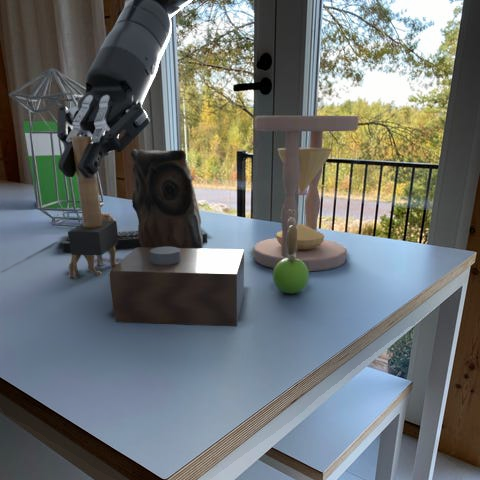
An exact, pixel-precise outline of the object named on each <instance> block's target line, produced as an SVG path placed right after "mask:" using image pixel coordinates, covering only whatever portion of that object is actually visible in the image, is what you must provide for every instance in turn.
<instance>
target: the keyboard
mask: <svg viewBox="0 0 480 480" xmlns="http://www.w3.org/2000/svg"><path fill="white" fill-rule="evenodd" d="M201 231H202V236H203V238H202V240H203V244H204V243H208V233H206V232H205V231H204V230H202V229H201ZM136 247H142V246H141V245H140V240H139V235H138V230H136V231H134V230H133V231H132V230H131V231H121V232H119V231H118V243H117V244H116V246H115V250H120V249H135V248H136ZM61 248H62V253H71V251H70V244H69V237H68V236H65V237H63V238H62V241H61Z"/></svg>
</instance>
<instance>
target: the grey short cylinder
mask: <svg viewBox="0 0 480 480" xmlns="http://www.w3.org/2000/svg"><path fill="white" fill-rule="evenodd" d="M150 261H151V263H153V264H157V265H171V264H176V263H178V262H180V261H181V256H180V249H179V248H176V247H157V248H153V249H151V250H150Z"/></svg>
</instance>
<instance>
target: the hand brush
mask: <svg viewBox="0 0 480 480" xmlns="http://www.w3.org/2000/svg"><path fill="white" fill-rule="evenodd" d="M91 139H92V137H91V136H76V137H72V144H73V152H74V159H75V166H76V174H77V181H78V189H79V196H80V203H81V207H80V208H81V211H80V212H82V213H81V217H82V218H83V220H82V223H81V225H79V226H78V227H73V228H72V229H70V230H68V231H67V237H69V244H70V251H71V252H70V255H71V256H72V255H81V256H84V255H95V256H96V255H102V256H103V255H104V254H105V253H106V252H108V250H109V249H110V248H111V247H113V246H114V245H115V244H117V243H118V232H119V231H118V232H117V230H118V225H117V220H116V221H102V217H101V213H102V209H101V208H102V207H101V208H100V206H101V205H100V201H101V199H100V200H99V198H100V191H99V185H98V180H97V175H96V173H95V174H94V176H93V178H85V177H84V176H83V174H82V173H81V172H80V171H79V170H78V164H79V162H80V160H81V158H82V156H83V154H84V152H85V150H86V148H87V145H88V143H93V142H92V141H91ZM98 191H99V192H98Z"/></svg>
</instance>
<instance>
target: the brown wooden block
mask: <svg viewBox="0 0 480 480" xmlns="http://www.w3.org/2000/svg"><path fill="white" fill-rule="evenodd" d="M151 249H153V248H148V247H135V248H133V250H132V251H131V252H129V253H128V254H127V255H126V256H125V257H124V258H123V259H121V261H119V262H117V263H118V264H117V265H116V266H113V267H112V268H111V269H110V270H109V274H108V277H109V278H108V279H109V285H110V294H111V305H112V311H113V312H112V314H113V317H114V322H115V323H128V324H129V323H130V324H131V323H132V324H133V323H134V324H159V325H160V324H163V325H189V326H190V325H191V326H192V325H193V326H195V325H196V326H219V327H220V326H221V327H222V326H223V327H224V326H225V327H237V326H238V323H239V318H240V315H241V309H242V305H243V300H244V295H245V250H244V249H238V248H203V249H196V248H179V249H180V256H181V261H180V262H178V263H176V264H171V265H157V264H153V263H151V261H150V250H151Z"/></svg>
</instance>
